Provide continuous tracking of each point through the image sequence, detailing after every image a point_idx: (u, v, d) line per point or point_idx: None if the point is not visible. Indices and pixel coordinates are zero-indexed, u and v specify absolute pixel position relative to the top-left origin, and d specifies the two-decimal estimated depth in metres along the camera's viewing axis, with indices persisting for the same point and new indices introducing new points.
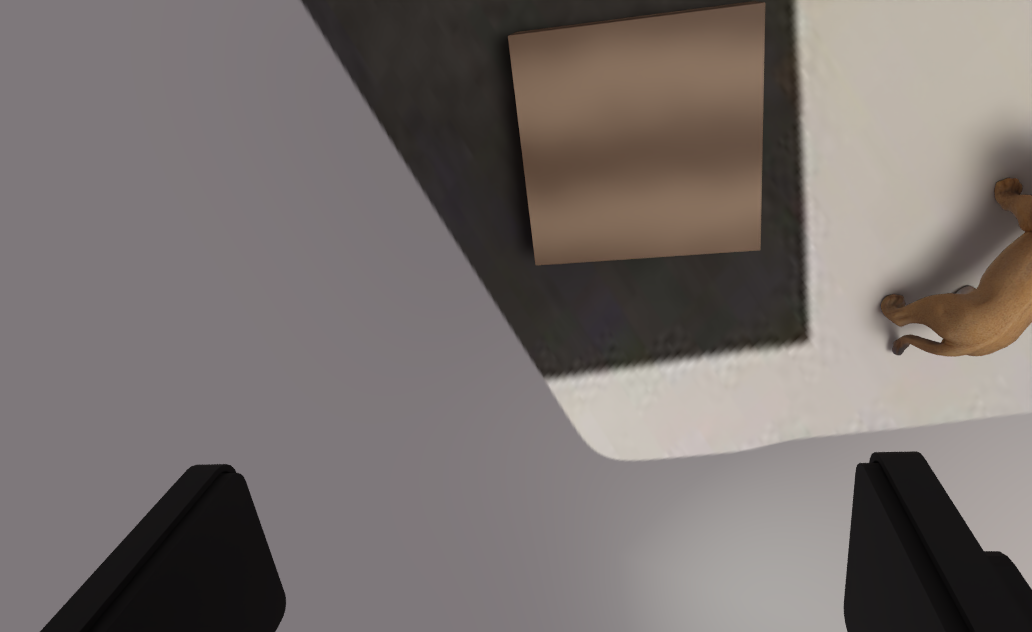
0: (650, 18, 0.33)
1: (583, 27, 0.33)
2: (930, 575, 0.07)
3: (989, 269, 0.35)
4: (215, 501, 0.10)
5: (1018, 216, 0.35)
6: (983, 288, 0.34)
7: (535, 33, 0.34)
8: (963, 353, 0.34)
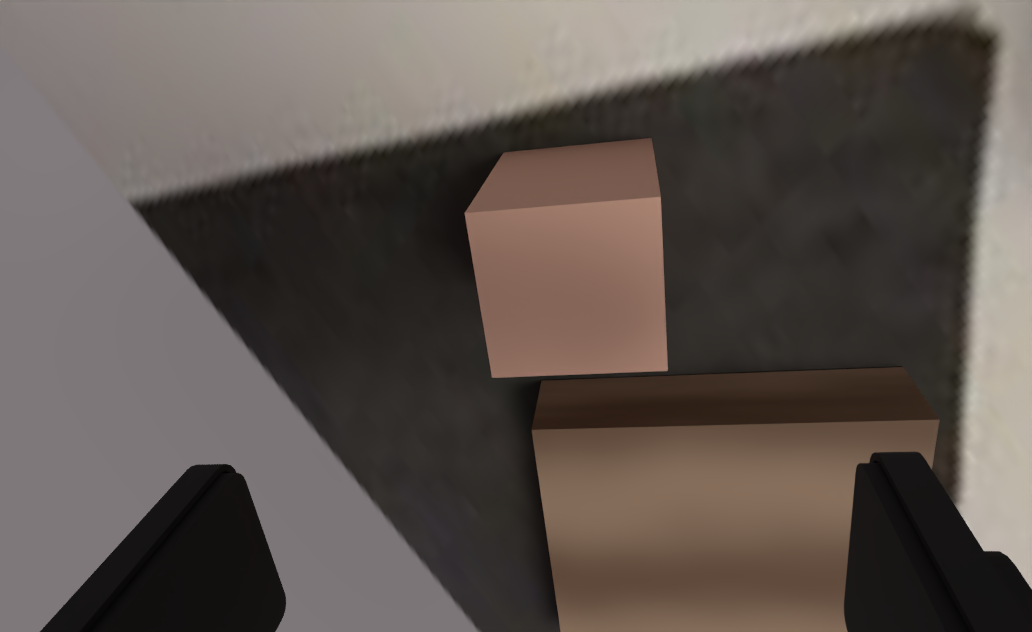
0: (753, 425, 0.21)
1: (648, 428, 0.22)
2: (930, 575, 0.07)
3: None
4: (215, 501, 0.10)
5: None
6: None
7: (573, 430, 0.22)
8: None
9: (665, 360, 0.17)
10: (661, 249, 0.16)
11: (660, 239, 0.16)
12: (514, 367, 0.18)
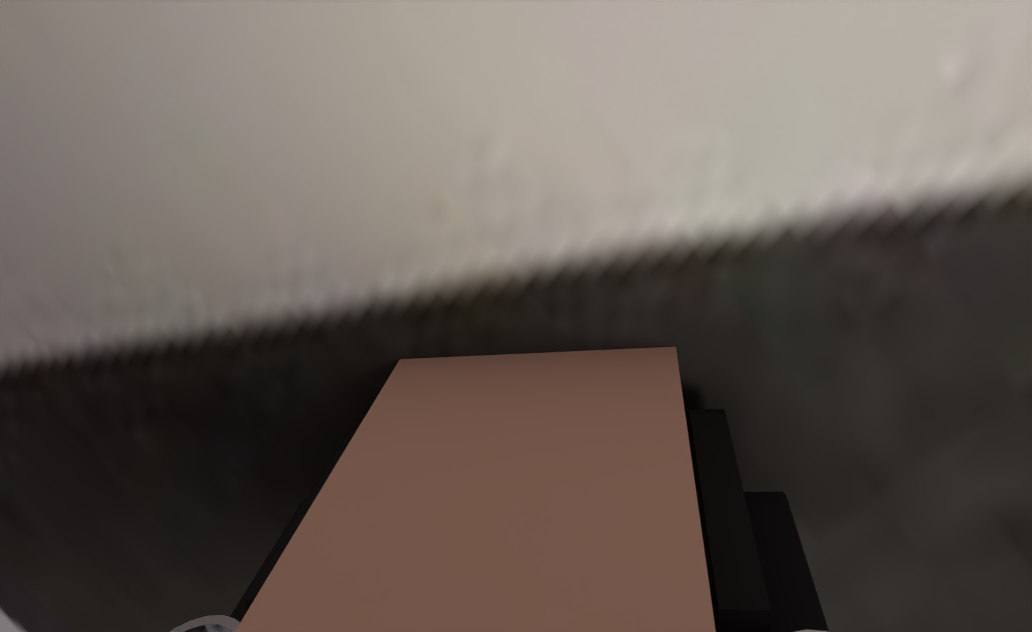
0: None
1: None
2: None
3: None
4: None
5: None
6: None
7: None
8: None
9: None
10: None
11: None
12: None
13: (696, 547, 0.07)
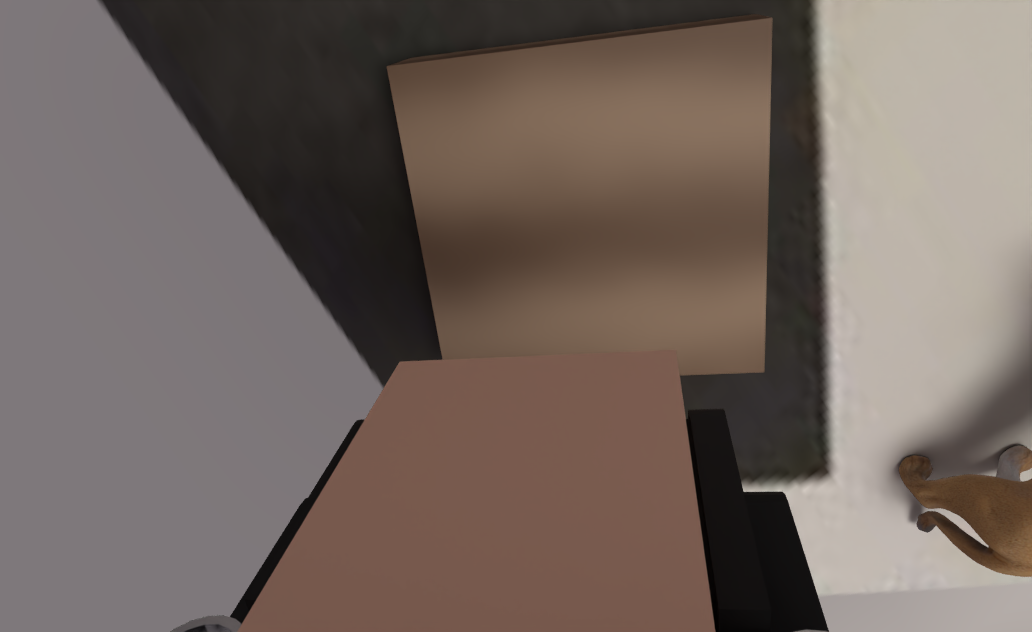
0: (597, 41, 0.22)
1: (497, 54, 0.22)
2: None
3: None
4: None
5: None
6: None
7: (426, 63, 0.23)
8: (1022, 575, 0.24)
9: None
10: None
11: None
12: None
13: (696, 552, 0.07)
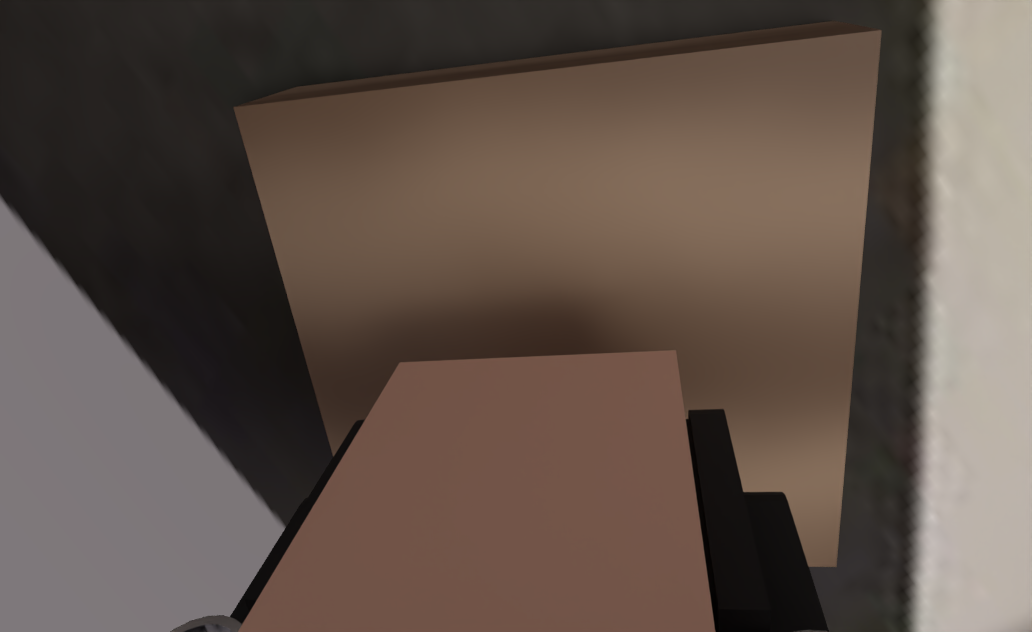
0: (576, 69, 0.13)
1: (410, 89, 0.13)
2: None
3: None
4: None
5: None
6: None
7: (297, 102, 0.14)
8: None
9: None
10: None
11: None
12: None
13: (697, 553, 0.07)
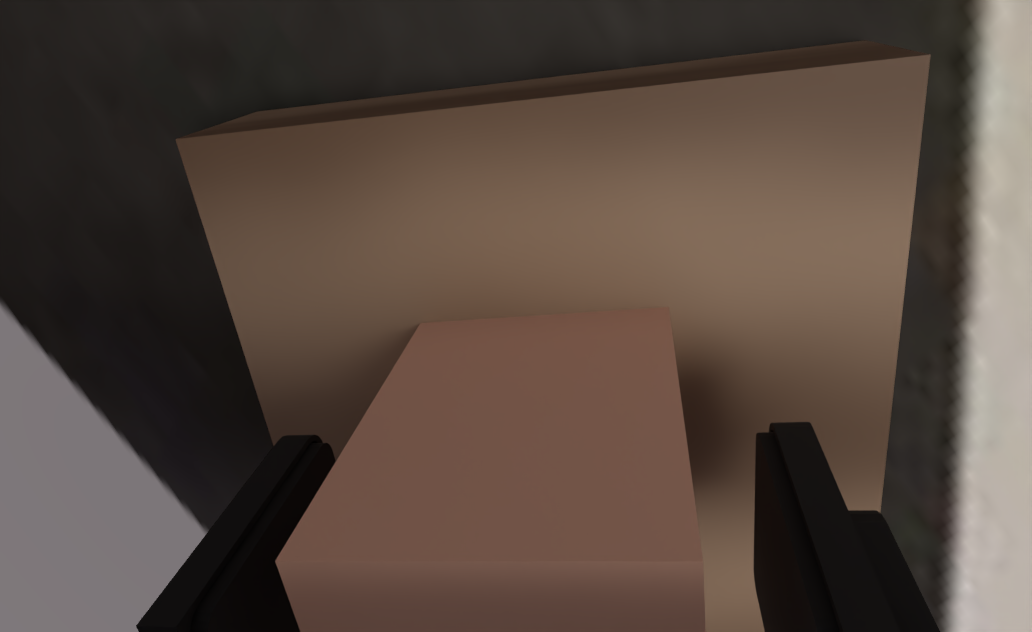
0: (569, 98, 0.11)
1: (377, 120, 0.11)
2: (797, 525, 0.08)
3: None
4: (310, 468, 0.11)
5: None
6: None
7: (248, 134, 0.12)
8: None
9: None
10: None
11: None
12: None
13: (682, 458, 0.08)
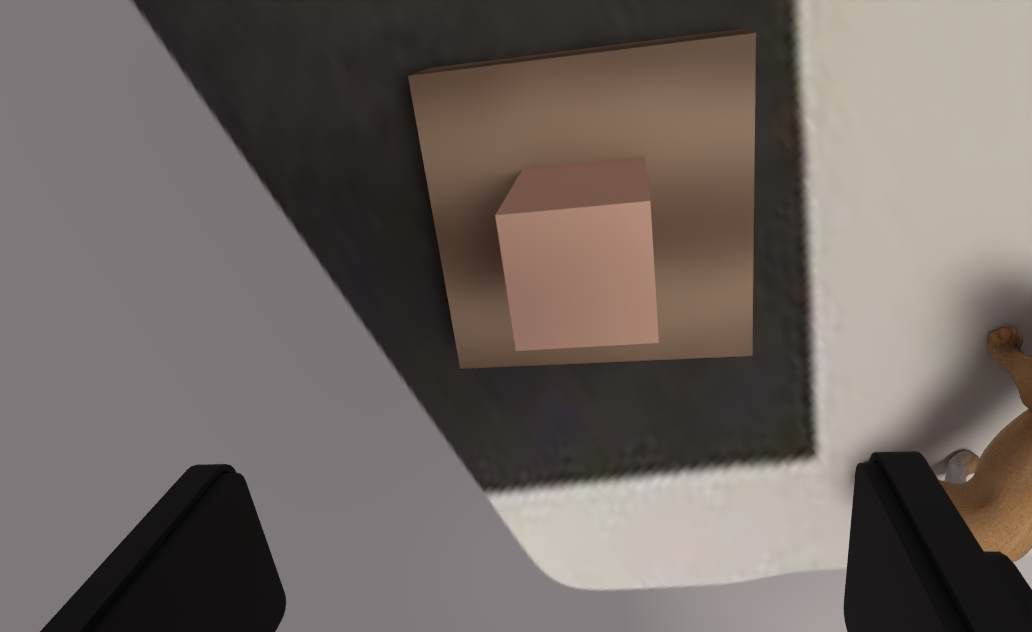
0: (598, 53, 0.24)
1: (508, 65, 0.25)
2: (930, 575, 0.07)
3: (986, 455, 0.27)
4: (215, 501, 0.10)
5: (1019, 387, 0.27)
6: (980, 482, 0.27)
7: (444, 73, 0.25)
8: None
9: (656, 334, 0.21)
10: (651, 242, 0.20)
11: (650, 234, 0.20)
12: (534, 342, 0.22)
13: (646, 187, 0.21)
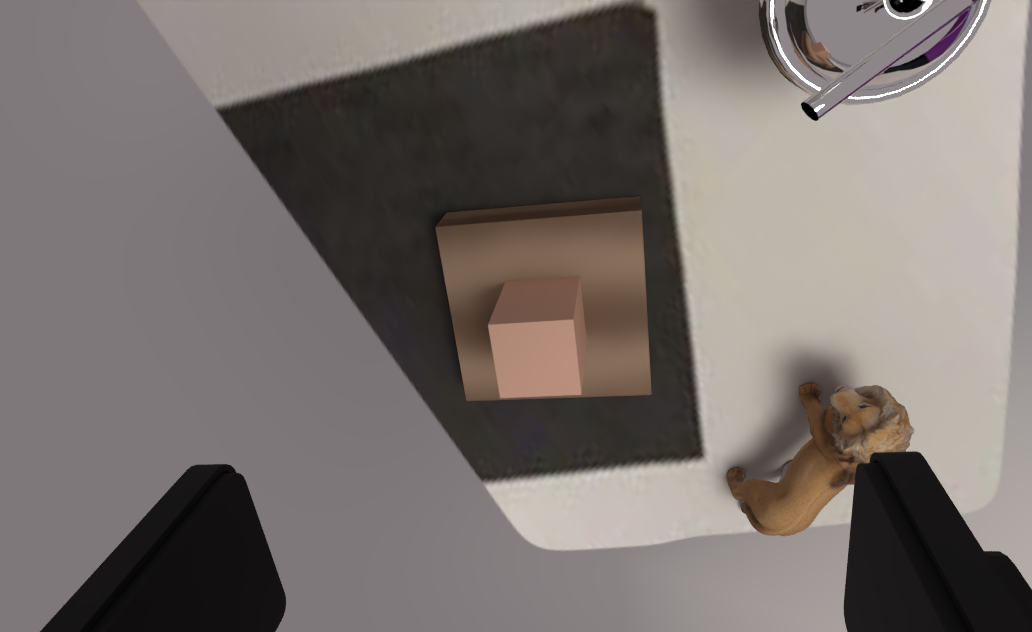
0: (550, 218, 0.40)
1: (496, 223, 0.41)
2: (930, 575, 0.07)
3: (789, 465, 0.44)
4: (215, 501, 0.10)
5: (809, 422, 0.43)
6: (784, 482, 0.43)
7: (457, 226, 0.41)
8: (772, 535, 0.43)
9: (580, 389, 0.38)
10: (575, 341, 0.36)
11: (574, 336, 0.36)
12: (510, 393, 0.38)
13: (574, 306, 0.37)
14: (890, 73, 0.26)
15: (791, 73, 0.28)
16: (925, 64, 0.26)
